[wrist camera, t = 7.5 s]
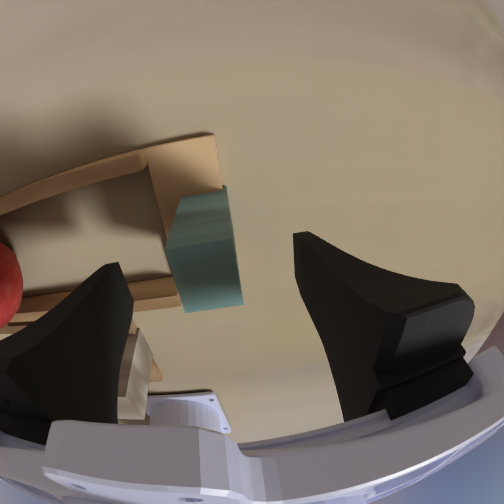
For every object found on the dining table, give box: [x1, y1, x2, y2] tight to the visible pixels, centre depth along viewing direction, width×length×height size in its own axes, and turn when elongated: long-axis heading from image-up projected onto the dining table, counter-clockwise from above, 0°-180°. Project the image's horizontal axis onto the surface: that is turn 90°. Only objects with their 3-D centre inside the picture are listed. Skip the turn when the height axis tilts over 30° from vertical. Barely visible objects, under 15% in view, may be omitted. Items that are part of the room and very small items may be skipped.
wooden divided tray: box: [0, 134, 244, 326], centre depth 13 cm, size 9×20×6 cm, turn 97°
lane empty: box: [0, 320, 162, 419], centre depth 17 cm, size 9×20×6 cm, turn 97°
